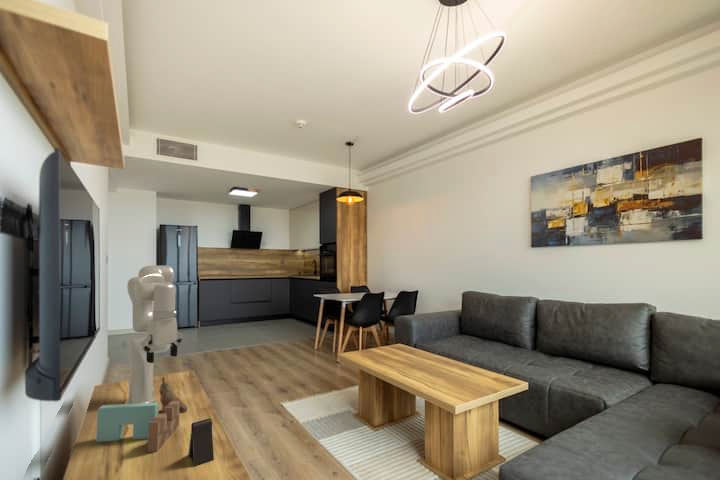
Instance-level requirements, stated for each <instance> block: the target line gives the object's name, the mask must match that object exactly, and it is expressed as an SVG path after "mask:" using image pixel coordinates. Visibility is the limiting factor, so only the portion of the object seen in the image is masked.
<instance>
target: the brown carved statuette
mask: <svg viewBox="0 0 720 480" xmlns="http://www.w3.org/2000/svg"><path fill="white" fill-rule="evenodd" d="M161 381H162V383H161V385H160V386H159V387H160V388H159V394H160V398H159V399H160V404H161V406H162V409H160V410H158V414H162V413H164V408H165V407H166V406H167V405H168V404H169V403H170V402H171V401H175V400H180V407H179V413H180V414H183V413H184V414H185V413H187V412H188V406H187V405H186V404H185V403H184V402H183V401H182V400H181V399H180V397H178V395H176V394H175V392H174V391H173V389H172V388H171V386H170V384H168V383H167V382H166V379H165V377H164V376H163V377H162V379H161Z"/></svg>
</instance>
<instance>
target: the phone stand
mask: <svg viewBox="0 0 720 480" xmlns="http://www.w3.org/2000/svg"><path fill="white" fill-rule="evenodd" d="M212 420H213V419H211V418H205V419H203V420H198V421H196V422H192V423H191V427H190V429H191V430H190V431H191V433H190V436H189V437H190V439H189V446H188V452H187V453H188V454H187V455H188V457H189V458H190V461H191V462H192V464H193V466H194V467H196V466H199V465H202V464H205V463H208V462H211V461H213V460H215V458H214V442H213V421H212Z"/></svg>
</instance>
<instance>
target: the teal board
mask: <svg viewBox="0 0 720 480" xmlns="http://www.w3.org/2000/svg"><path fill="white" fill-rule="evenodd" d="M159 403H160V402H158V401H157V402H156V401H154V402H152V403H137V404H125V403H123V404H122V403H121V404H105V405H104V404H103V405H101V406H100V407H98V408H97V422H96V423H97V425H96V442H97V443H99V442H114V441H116V442H117V441H119V440H120V439H122V438H123V436H124V435H123V433H124V426H127V425H130V426H131V425H132V440H141V439H142V440H143V439H148V437H149V422H150V421H151V420H152V419H154V418H155V417H156V416H157V415H158V411H159V407H160V405H159Z"/></svg>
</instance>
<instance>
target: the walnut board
mask: <svg viewBox="0 0 720 480" xmlns="http://www.w3.org/2000/svg"><path fill="white" fill-rule="evenodd" d="M180 400H181V399H180ZM180 400H175V401H171V402H170V403H169V404H168V405H167V406H166V407H165V408H164V413H162V414H158V415H157V416H156V417H155V418H154V419H152V420H151V421H150V422H149V437H148V438H147V441H148V442H147V447H148V448H147V453H157V452H159V450H160V449H161V448H162V446H163V445H164V444H165V443H166V442H167V440H168V439H169V438H170V437H171V436H172V434H173V433H174V432H175V431H176V430H177V428H178V427H179V426H180V414H179V407H180ZM169 436H170V437H169ZM165 441H166V442H165Z"/></svg>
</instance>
